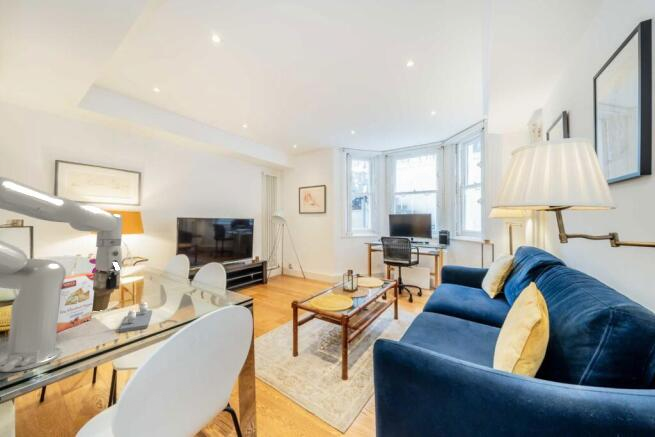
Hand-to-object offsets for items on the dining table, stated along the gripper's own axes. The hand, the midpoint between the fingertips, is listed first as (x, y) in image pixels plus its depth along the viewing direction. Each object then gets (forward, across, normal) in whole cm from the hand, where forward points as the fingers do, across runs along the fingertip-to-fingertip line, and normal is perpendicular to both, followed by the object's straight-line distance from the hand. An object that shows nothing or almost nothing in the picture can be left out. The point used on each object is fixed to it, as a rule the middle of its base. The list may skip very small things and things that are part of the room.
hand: (106, 286), depth 98 cm
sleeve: (+1, 0, 0) cm, 1 cm away
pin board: (+18, -2, -11) cm, 21 cm away
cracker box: (+18, +17, +4) cm, 25 cm away
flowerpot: (+18, +32, -10) cm, 38 cm away
